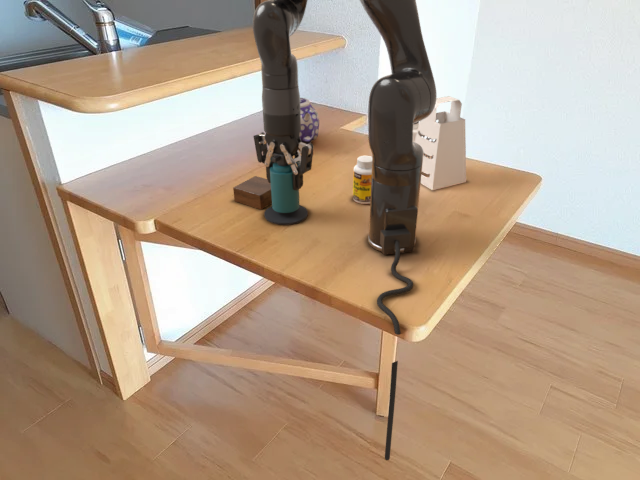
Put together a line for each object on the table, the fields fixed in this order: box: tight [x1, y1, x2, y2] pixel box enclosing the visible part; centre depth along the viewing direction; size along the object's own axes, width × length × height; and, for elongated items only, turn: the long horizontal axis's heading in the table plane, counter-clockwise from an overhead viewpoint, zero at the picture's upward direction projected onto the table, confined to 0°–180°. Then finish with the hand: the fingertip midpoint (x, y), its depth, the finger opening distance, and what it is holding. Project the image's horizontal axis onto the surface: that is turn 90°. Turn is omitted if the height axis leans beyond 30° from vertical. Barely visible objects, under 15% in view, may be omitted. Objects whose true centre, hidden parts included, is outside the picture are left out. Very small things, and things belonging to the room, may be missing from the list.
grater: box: [415, 95, 467, 191], centre depth 128 cm, size 10×10×20 cm
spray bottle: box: [270, 153, 301, 213], centre depth 112 cm, size 12×6×13 cm
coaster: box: [263, 204, 309, 226], centre depth 116 cm, size 10×10×1 cm
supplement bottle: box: [352, 155, 372, 205], centre depth 120 cm, size 6×6×10 cm
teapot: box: [299, 97, 320, 144], centre depth 153 cm, size 25×15×15 cm, turn 31°
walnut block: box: [232, 175, 272, 210], centre depth 122 cm, size 8×8×4 cm
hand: (284, 185), depth 113 cm, fingers closed on spray bottle, 6 cm apart
